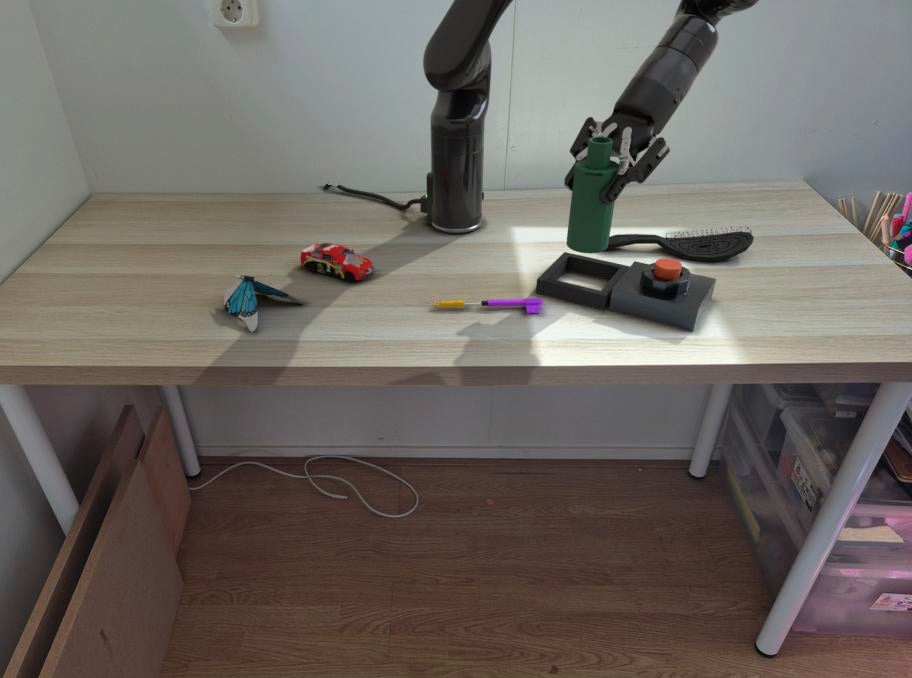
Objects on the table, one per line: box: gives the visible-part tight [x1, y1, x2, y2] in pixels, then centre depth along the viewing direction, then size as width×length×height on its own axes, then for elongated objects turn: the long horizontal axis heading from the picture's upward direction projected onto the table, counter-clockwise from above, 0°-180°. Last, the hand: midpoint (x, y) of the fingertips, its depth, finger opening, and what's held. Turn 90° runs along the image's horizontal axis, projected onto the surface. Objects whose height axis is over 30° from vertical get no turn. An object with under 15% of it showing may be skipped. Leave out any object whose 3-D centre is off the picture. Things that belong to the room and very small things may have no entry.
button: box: [653, 257, 683, 279], centre depth 100 cm, size 4×4×2 cm
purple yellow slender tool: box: [434, 297, 544, 314], centre depth 104 cm, size 3×1×16 cm
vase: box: [565, 137, 619, 254], centre depth 101 cm, size 6×6×16 cm
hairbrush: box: [606, 226, 755, 263], centre depth 117 cm, size 8×4×25 cm
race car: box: [299, 242, 374, 283], centre depth 116 cm, size 13×5×4 cm, turn 57°
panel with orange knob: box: [608, 260, 717, 333], centre depth 102 cm, size 12×10×6 cm
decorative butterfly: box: [223, 273, 304, 332], centre depth 106 cm, size 10×6×10 cm
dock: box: [535, 251, 631, 311], centre depth 108 cm, size 11×11×2 cm
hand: (585, 194), depth 99 cm, fingers closed on vase, 6 cm apart
